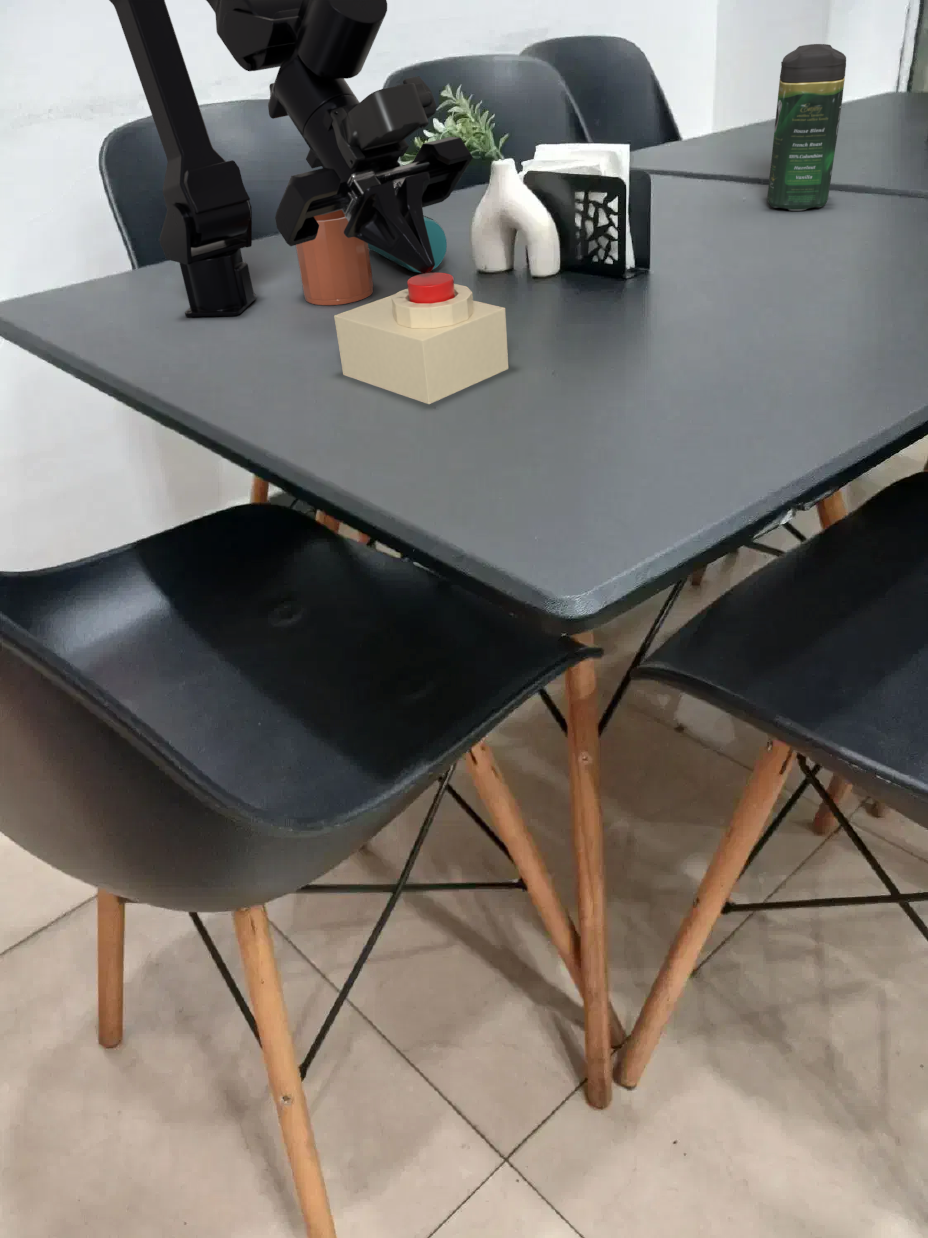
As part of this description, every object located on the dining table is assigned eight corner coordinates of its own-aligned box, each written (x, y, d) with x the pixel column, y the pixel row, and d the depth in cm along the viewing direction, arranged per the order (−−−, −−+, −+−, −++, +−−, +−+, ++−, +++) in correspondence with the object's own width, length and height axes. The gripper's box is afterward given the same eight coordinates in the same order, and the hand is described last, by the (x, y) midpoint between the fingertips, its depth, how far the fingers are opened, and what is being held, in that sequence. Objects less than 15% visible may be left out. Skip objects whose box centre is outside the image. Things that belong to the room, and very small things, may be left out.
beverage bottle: (430, 207, 111) (365, 180, 126) (392, 252, 112) (332, 220, 127) (464, 247, 116) (397, 216, 131) (428, 290, 116) (365, 254, 131)
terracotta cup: (296, 306, 110) (281, 223, 105) (315, 285, 117) (302, 205, 112) (364, 304, 109) (352, 219, 104) (380, 282, 116) (370, 202, 110)
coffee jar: (830, 211, 126) (852, 46, 115) (766, 213, 128) (782, 50, 117) (826, 194, 134) (846, 38, 123) (766, 196, 136) (781, 42, 125)
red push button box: (343, 375, 91) (330, 295, 87) (421, 344, 97) (413, 267, 92) (429, 405, 84) (420, 319, 80) (508, 369, 89) (504, 287, 85)
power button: (400, 301, 85) (397, 281, 84) (433, 289, 87) (431, 269, 86) (430, 309, 83) (428, 288, 82) (464, 296, 85) (462, 276, 84)
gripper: (267, 60, 72) (381, 233, 72) (449, 30, 82) (550, 182, 82) (232, 166, 82) (332, 320, 81) (398, 128, 92) (489, 264, 91)
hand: (429, 269), depth 84 cm, fingers closed
